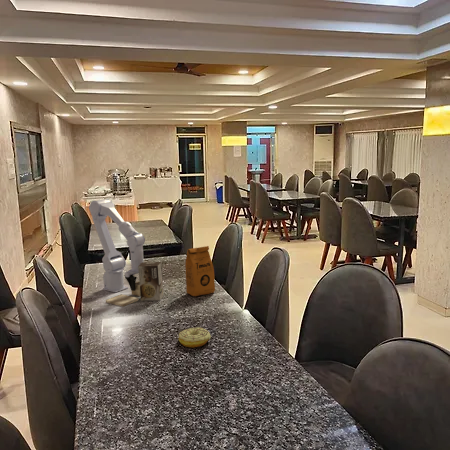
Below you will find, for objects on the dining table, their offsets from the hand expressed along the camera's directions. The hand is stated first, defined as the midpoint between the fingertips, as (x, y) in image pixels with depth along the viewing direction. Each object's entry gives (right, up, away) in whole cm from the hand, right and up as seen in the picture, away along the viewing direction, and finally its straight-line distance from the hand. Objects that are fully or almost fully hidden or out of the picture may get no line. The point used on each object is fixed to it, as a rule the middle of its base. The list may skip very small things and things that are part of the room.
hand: (139, 288), depth 190 cm
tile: (-6, -4, -9) cm, 12 cm away
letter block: (0, -3, +1) cm, 3 cm away
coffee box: (+7, -4, -7) cm, 11 cm away
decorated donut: (+30, -11, -51) cm, 60 cm away
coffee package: (+29, -2, -2) cm, 29 cm away
